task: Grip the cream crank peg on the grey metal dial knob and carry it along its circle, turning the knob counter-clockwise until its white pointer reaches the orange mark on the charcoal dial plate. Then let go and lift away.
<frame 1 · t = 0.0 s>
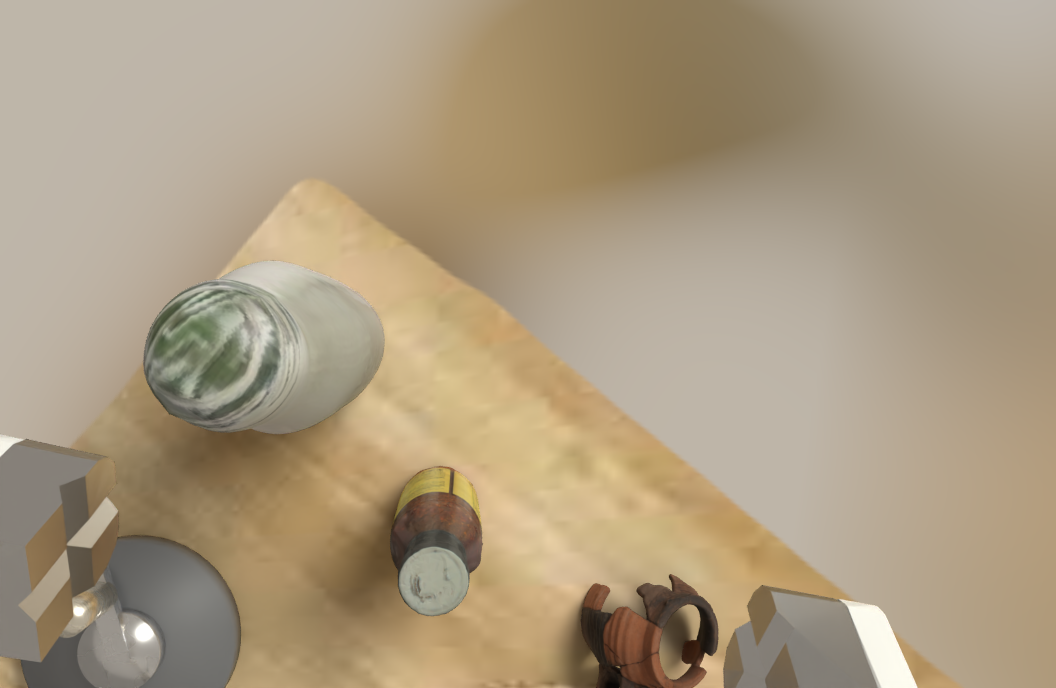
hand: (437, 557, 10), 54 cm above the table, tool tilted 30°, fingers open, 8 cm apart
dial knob: (99, 640, 58), point 5 cm above the table, hinge at 0.0°
pottery mug: (633, 629, 66), on the table
dial plate: (138, 635, 63), on the table
sauce bottle: (442, 501, 65), on the table
grey tall rounded piece: (328, 342, 64), on the table
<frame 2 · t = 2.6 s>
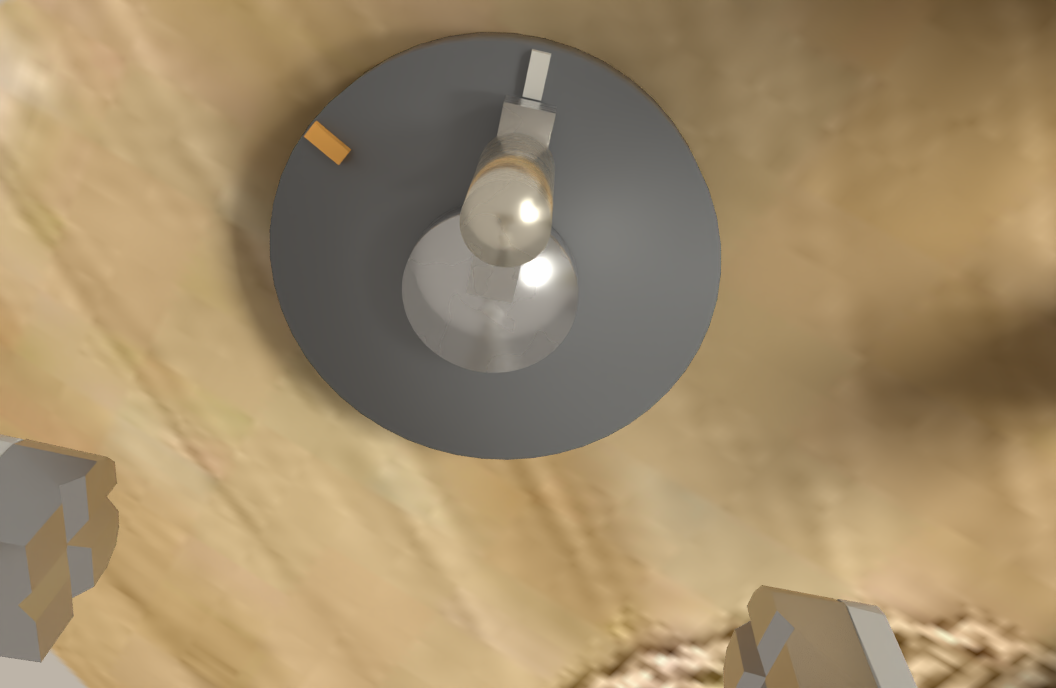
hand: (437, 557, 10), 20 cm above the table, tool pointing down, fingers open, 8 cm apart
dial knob: (494, 272, 25), point 5 cm above the table, hinge at 0.0°
dial plate: (497, 257, 30), on the table
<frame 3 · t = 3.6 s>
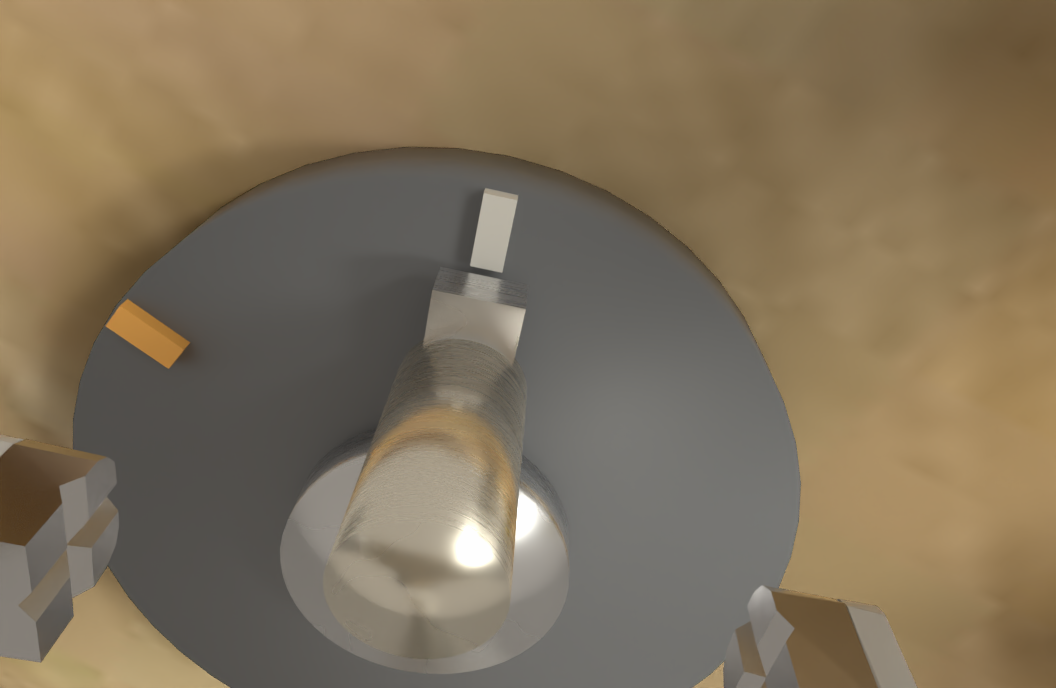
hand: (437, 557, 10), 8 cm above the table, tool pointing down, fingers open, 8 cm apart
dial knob: (422, 577, 14), point 5 cm above the table, hinge at 0.0°
dial plate: (446, 471, 20), on the table
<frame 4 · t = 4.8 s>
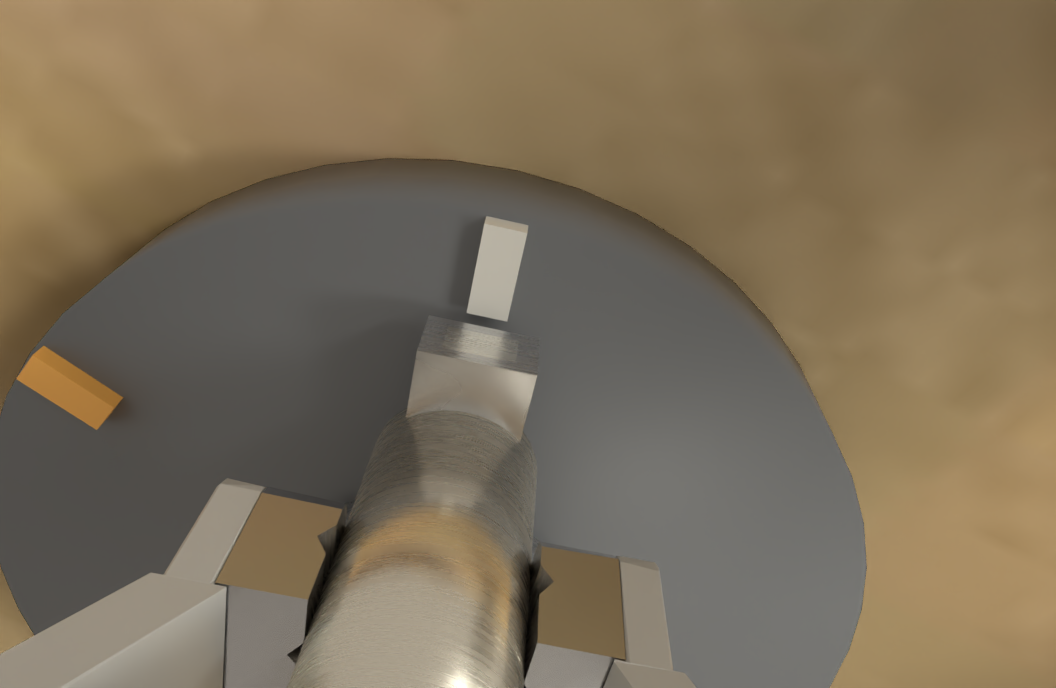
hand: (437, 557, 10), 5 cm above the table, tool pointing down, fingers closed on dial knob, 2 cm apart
dial plate: (439, 534, 17), on the table
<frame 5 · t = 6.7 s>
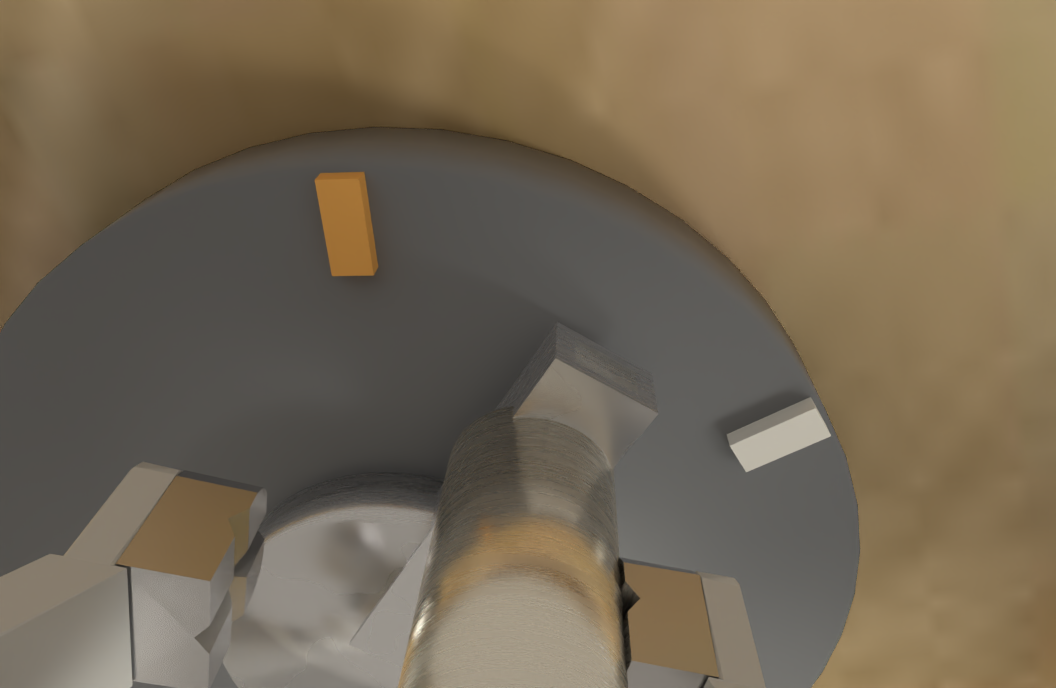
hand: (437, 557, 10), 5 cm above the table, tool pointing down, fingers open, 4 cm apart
dial plate: (427, 516, 16), on the table
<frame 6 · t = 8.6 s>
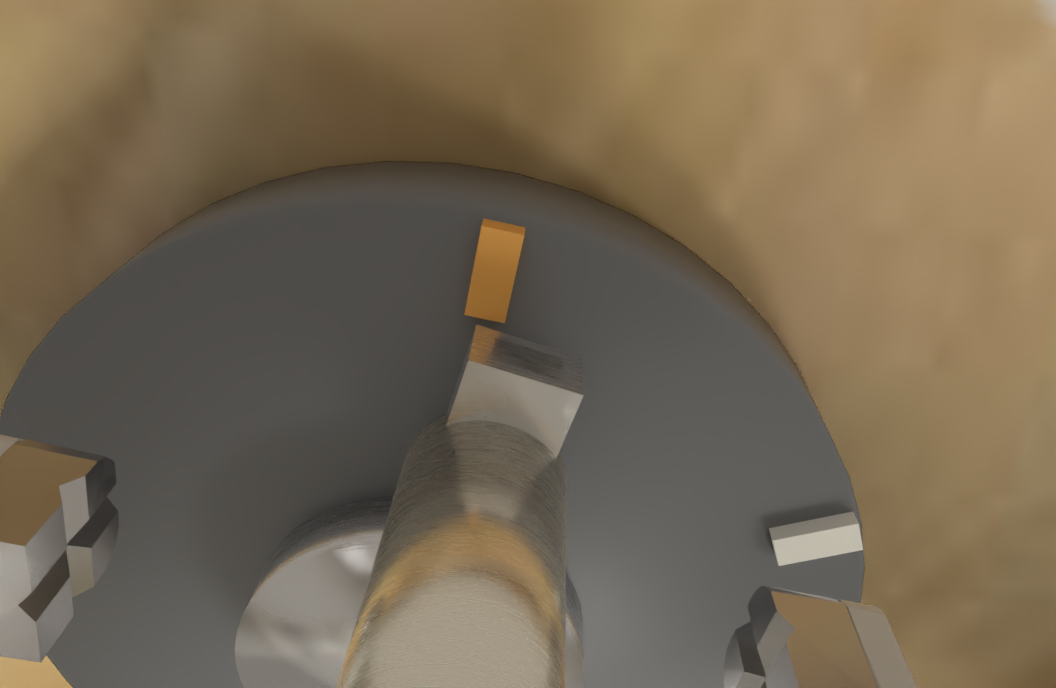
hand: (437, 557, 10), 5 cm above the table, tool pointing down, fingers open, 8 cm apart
dial plate: (439, 536, 17), on the table
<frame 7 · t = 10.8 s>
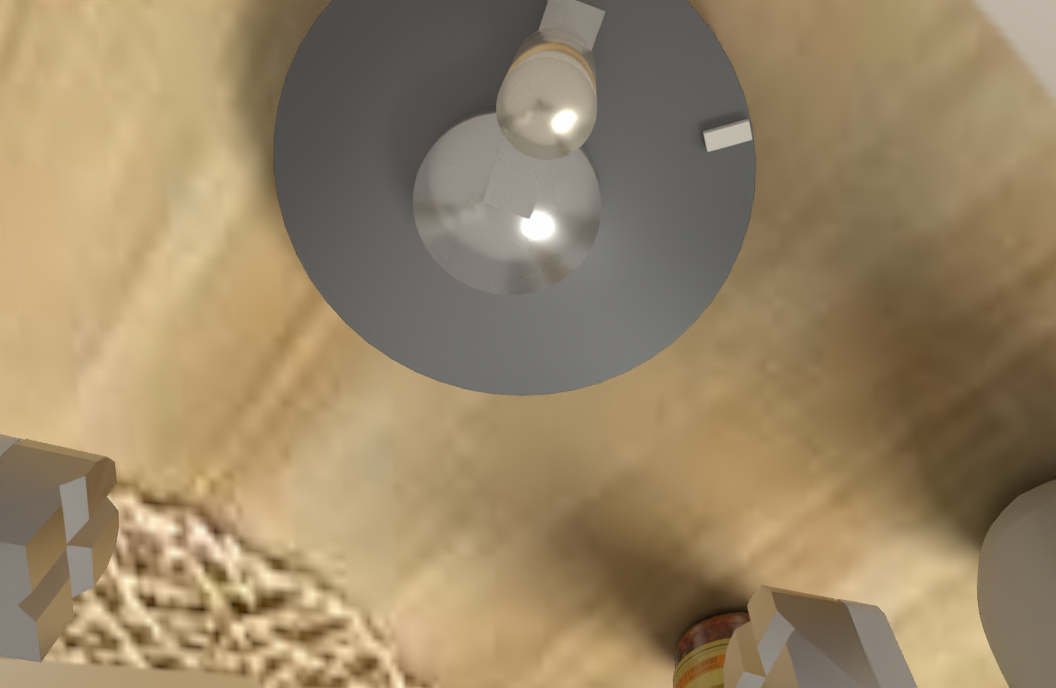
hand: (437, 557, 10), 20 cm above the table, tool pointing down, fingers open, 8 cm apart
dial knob: (519, 177, 23), point 5 cm above the table, hinge at 53.9°
dial plate: (515, 176, 28), on the table
sauce bottle: (731, 647, 40), on the table
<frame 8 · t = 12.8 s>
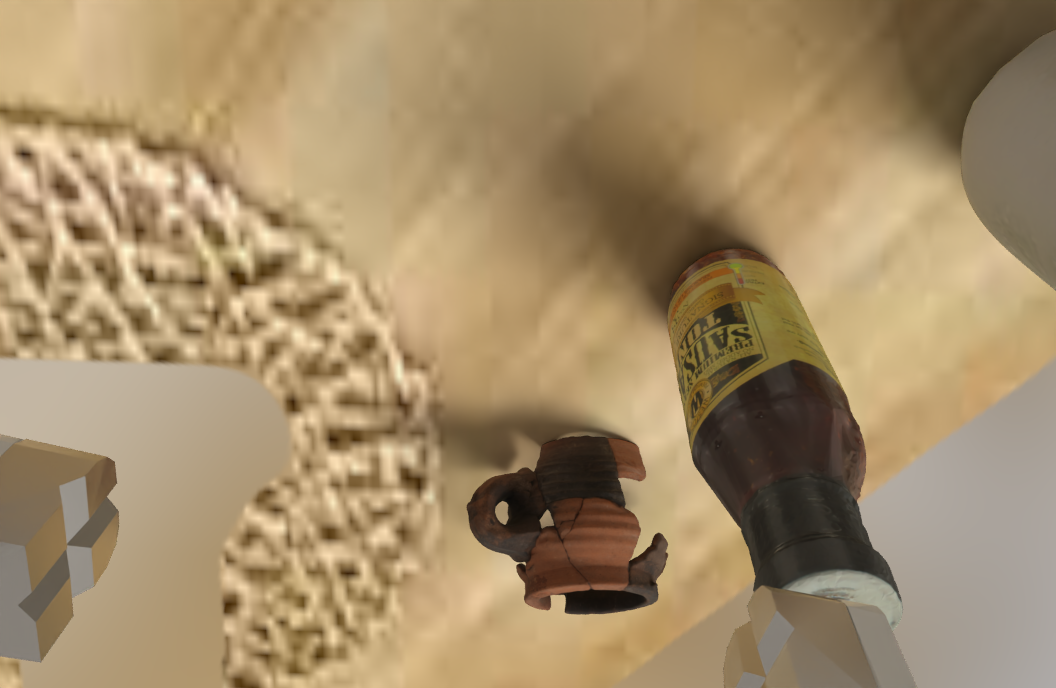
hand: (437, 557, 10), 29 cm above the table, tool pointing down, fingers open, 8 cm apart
pottery mug: (569, 490, 47), on the table
sauce bottle: (723, 301, 40), on the table
grey tall rounded piece: (1039, 116, 35), on the table
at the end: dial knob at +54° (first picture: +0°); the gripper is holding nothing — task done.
